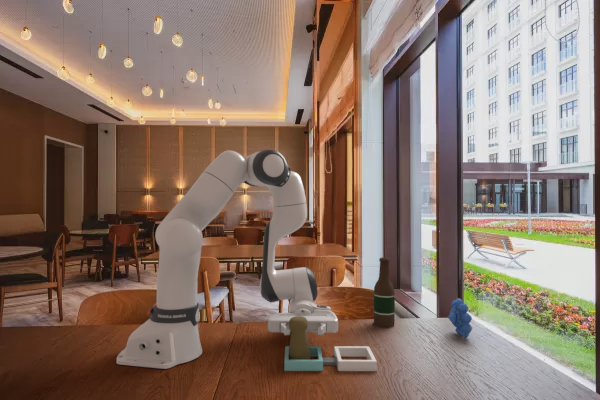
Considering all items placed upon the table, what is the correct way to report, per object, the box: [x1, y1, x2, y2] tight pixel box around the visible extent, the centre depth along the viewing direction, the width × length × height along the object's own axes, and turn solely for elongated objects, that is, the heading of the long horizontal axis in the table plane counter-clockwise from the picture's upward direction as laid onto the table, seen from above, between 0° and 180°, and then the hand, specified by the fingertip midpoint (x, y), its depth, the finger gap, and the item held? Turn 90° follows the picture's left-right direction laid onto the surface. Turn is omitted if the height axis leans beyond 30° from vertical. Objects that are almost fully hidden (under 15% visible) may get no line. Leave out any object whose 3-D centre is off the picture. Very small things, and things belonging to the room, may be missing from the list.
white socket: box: [322, 345, 378, 372], centre depth 99 cm, size 14×10×2 cm
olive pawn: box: [289, 316, 312, 360], centre depth 99 cm, size 6×6×11 cm
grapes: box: [447, 297, 473, 339], centre depth 121 cm, size 12×7×12 cm, turn 2°
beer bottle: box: [373, 257, 396, 329], centre depth 132 cm, size 8×8×24 cm
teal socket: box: [283, 345, 324, 372], centre depth 99 cm, size 10×10×2 cm
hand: (303, 332), depth 98 cm, fingers open, 8 cm apart
